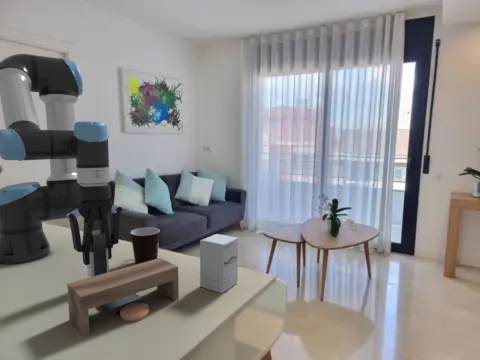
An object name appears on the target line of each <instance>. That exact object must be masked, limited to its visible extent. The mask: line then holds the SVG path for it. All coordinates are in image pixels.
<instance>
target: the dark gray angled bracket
mask: <svg viewBox="0 0 480 360" xmlns="http://www.w3.org/2000/svg"><path fill="white" fill-rule="evenodd" d="M90 251H92V252H93V258H94V276H97V275H101V274H104V273H107V257H106V236H105V233H104V232H102V231H101V229H96V230H92V237H91V246H90ZM132 303H143V297H142V296H140V295H139V294H138V293H135V294H132V295H129V296H127V297H124V298H121V299H118V300H115V301H112V302H109V303H106V304H103V305H102V306H104V307H105V308H106V309H107V310H108V311H109V312H110V313H112V314H115V313H117V312H120V310H121V309H122V308H123V307H124V306H126V305H128V304H132Z"/></svg>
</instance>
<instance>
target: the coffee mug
mask: <svg viewBox="0 0 480 360" xmlns="http://www.w3.org/2000/svg"><path fill="white" fill-rule="evenodd" d="M160 230H161V229H159V228H157V227H139V228H135V229H132V230H131V231H130V238H131V243H132V251H133V256H134V265H137V264H140V263H144V262H147V261H151V260H154V259H158V255H159V254H158V253H159V243H160V233H161V231H160Z"/></svg>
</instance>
